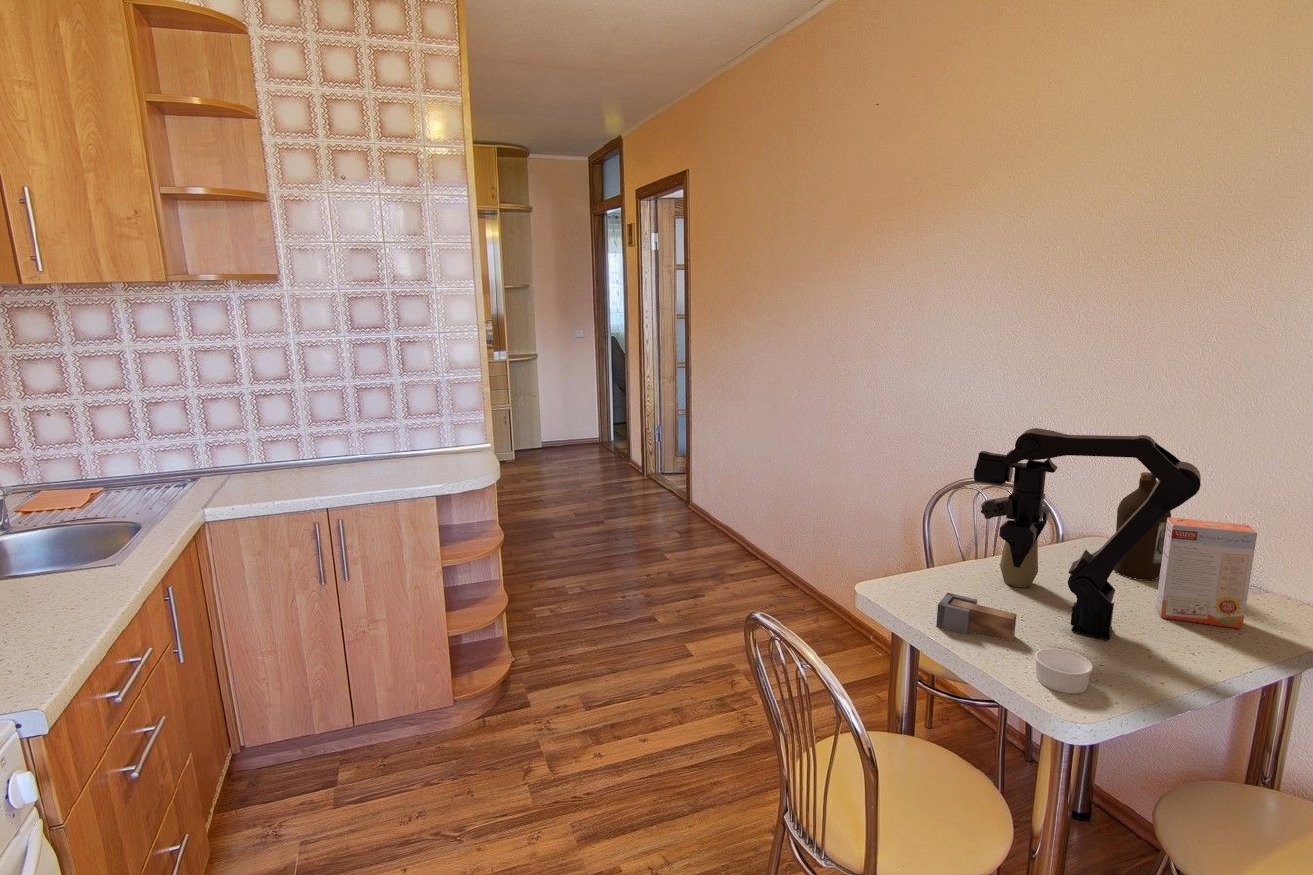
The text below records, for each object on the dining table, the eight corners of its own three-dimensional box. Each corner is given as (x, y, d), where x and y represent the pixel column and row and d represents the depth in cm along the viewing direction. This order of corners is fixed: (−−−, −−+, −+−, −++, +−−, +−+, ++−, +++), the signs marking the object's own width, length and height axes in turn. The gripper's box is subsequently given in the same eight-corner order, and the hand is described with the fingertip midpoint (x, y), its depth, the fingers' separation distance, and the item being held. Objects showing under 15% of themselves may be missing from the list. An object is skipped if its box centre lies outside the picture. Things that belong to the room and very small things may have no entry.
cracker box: (1233, 618, 148) (1249, 523, 144) (1242, 630, 143) (1259, 532, 139) (1153, 606, 154) (1166, 515, 150) (1159, 618, 149) (1173, 523, 144)
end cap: (975, 621, 148) (977, 599, 147) (966, 634, 143) (968, 611, 142) (945, 614, 152) (947, 592, 151) (936, 626, 146) (937, 604, 145)
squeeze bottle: (1038, 580, 168) (1045, 508, 165) (1034, 592, 162) (1042, 518, 158) (1000, 573, 173) (1007, 503, 169) (996, 585, 166) (1002, 512, 162)
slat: (1014, 636, 142) (1016, 613, 141) (1011, 642, 140) (1013, 619, 139) (952, 620, 149) (953, 598, 148) (948, 626, 147) (949, 604, 146)
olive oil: (1104, 573, 172) (1117, 474, 167) (1116, 561, 179) (1128, 465, 174) (1156, 585, 165) (1171, 482, 160) (1166, 572, 172) (1181, 473, 167)
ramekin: (1066, 701, 120) (1069, 678, 119) (1021, 675, 128) (1023, 654, 127) (1101, 689, 123) (1104, 666, 122) (1055, 665, 131) (1058, 643, 130)
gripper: (996, 474, 158) (990, 540, 162) (975, 493, 144) (969, 565, 147) (1052, 481, 152) (1045, 550, 155) (1036, 503, 137) (1028, 578, 141)
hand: (1021, 560), depth 150 cm, fingers open, 9 cm apart
